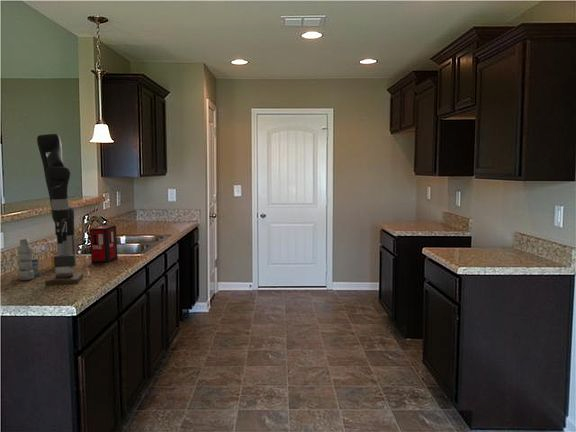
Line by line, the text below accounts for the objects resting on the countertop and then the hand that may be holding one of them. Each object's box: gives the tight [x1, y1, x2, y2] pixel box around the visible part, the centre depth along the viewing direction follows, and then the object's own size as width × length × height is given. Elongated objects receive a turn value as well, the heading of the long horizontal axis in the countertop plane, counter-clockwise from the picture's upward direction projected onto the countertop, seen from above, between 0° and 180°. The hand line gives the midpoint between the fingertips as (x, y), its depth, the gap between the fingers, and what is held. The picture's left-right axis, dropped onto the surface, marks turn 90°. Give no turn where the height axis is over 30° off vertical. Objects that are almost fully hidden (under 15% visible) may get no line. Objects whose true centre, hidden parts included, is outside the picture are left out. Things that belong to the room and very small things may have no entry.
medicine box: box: [17, 258, 40, 278], centre depth 250 cm, size 8×4×9 cm, turn 149°
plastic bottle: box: [17, 238, 34, 281], centre depth 242 cm, size 6×7×20 cm
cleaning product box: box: [89, 225, 118, 265], centre depth 290 cm, size 16×9×20 cm, turn 179°
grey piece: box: [50, 254, 77, 278], centre depth 239 cm, size 10×8×10 cm
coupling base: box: [45, 272, 84, 286], centre depth 240 cm, size 14×14×2 cm
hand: (62, 242), depth 238 cm, fingers open, 8 cm apart
